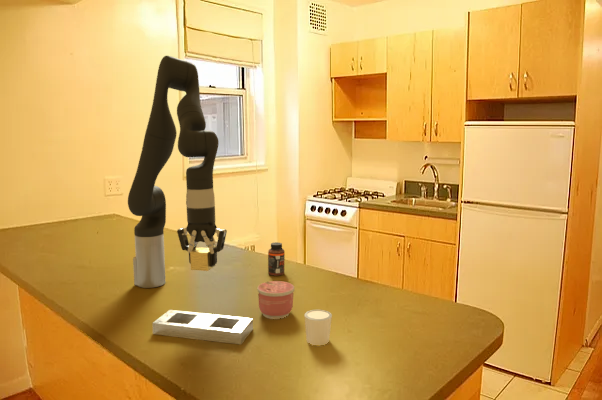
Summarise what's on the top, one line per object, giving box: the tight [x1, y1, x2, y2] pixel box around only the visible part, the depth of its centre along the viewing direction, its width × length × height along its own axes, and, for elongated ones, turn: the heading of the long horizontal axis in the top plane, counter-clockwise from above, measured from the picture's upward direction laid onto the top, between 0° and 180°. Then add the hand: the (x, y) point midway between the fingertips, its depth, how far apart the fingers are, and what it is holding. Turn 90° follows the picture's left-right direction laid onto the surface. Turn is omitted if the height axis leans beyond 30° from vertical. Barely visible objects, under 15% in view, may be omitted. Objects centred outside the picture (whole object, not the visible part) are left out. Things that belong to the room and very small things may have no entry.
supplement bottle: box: [267, 242, 286, 277], centre depth 168 cm, size 6×6×11 cm
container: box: [256, 280, 295, 320], centre depth 132 cm, size 10×10×8 cm
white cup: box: [304, 309, 333, 346], centre depth 115 cm, size 7×7×7 cm
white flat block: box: [151, 309, 254, 345], centre depth 121 cm, size 24×9×3 cm, turn 77°
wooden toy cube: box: [190, 247, 214, 272], centre depth 128 cm, size 5×5×5 cm
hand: (203, 265), depth 128 cm, fingers closed on wooden toy cube, 5 cm apart
